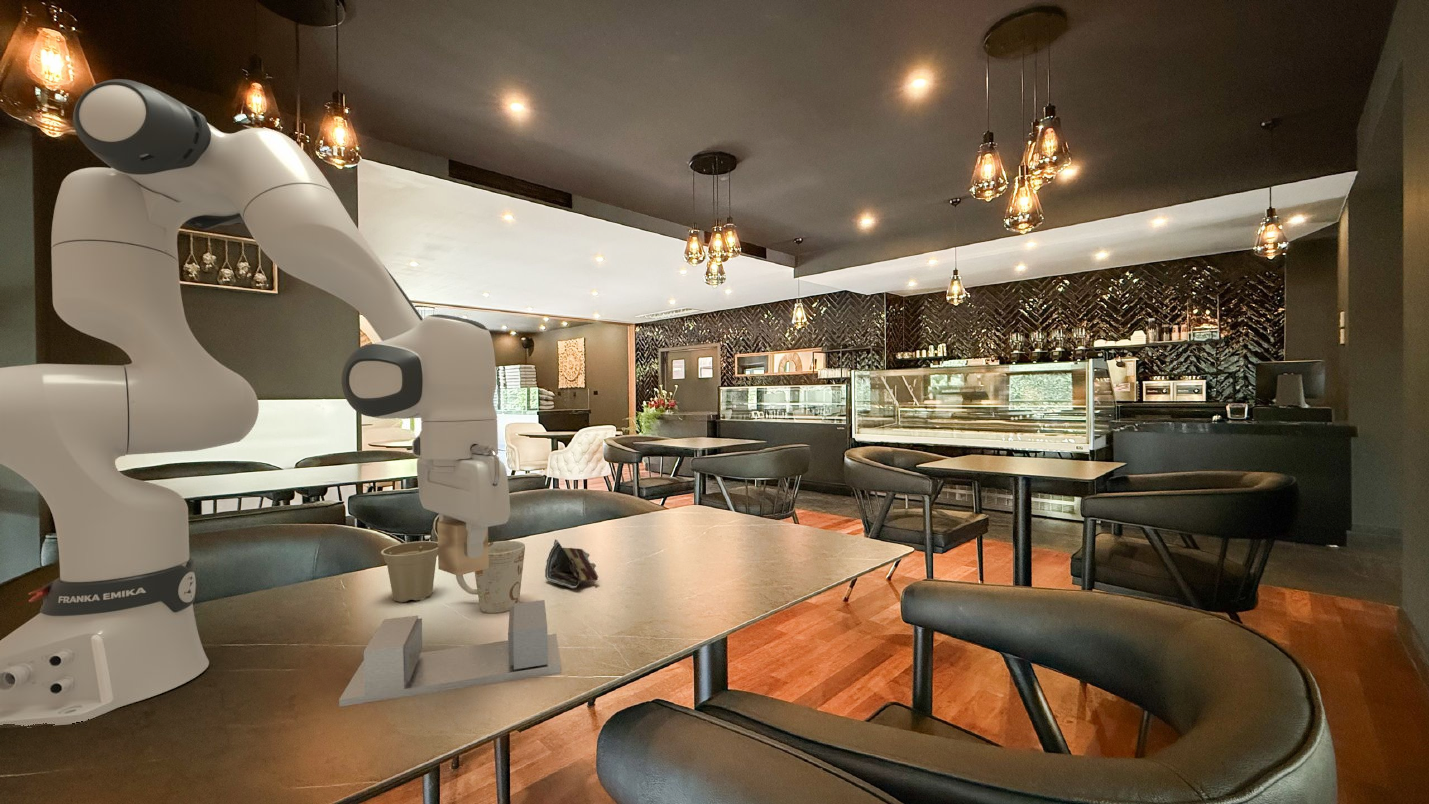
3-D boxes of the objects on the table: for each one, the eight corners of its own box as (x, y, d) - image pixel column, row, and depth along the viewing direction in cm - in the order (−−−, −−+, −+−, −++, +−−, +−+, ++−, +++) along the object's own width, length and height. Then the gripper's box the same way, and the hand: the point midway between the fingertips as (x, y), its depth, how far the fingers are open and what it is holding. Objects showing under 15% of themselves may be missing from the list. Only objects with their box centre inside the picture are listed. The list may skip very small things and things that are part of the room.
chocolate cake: (613, 581, 106) (595, 530, 114) (580, 580, 101) (564, 526, 109) (586, 612, 109) (571, 559, 117) (553, 612, 104) (540, 557, 112)
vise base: (339, 710, 64) (338, 655, 64) (363, 670, 74) (361, 622, 74) (560, 674, 72) (559, 624, 72) (556, 642, 81) (555, 598, 81)
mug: (508, 617, 91) (507, 554, 91) (438, 612, 93) (437, 551, 93) (535, 599, 99) (534, 541, 99) (470, 595, 101) (469, 539, 101)
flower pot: (425, 605, 97) (424, 554, 97) (370, 606, 97) (369, 555, 97) (451, 587, 106) (450, 540, 106) (401, 587, 106) (400, 541, 106)
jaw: (508, 670, 70) (508, 631, 70) (510, 638, 79) (509, 604, 79) (548, 664, 71) (547, 626, 71) (545, 633, 81) (544, 599, 81)
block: (438, 569, 73) (437, 521, 73) (468, 561, 76) (467, 516, 76) (457, 575, 70) (456, 526, 70) (488, 568, 73) (487, 520, 73)
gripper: (522, 444, 68) (525, 561, 68) (455, 439, 82) (457, 535, 82) (468, 448, 63) (471, 574, 63) (407, 442, 78) (409, 544, 78)
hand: (463, 552), depth 73 cm, fingers closed on block, 5 cm apart
